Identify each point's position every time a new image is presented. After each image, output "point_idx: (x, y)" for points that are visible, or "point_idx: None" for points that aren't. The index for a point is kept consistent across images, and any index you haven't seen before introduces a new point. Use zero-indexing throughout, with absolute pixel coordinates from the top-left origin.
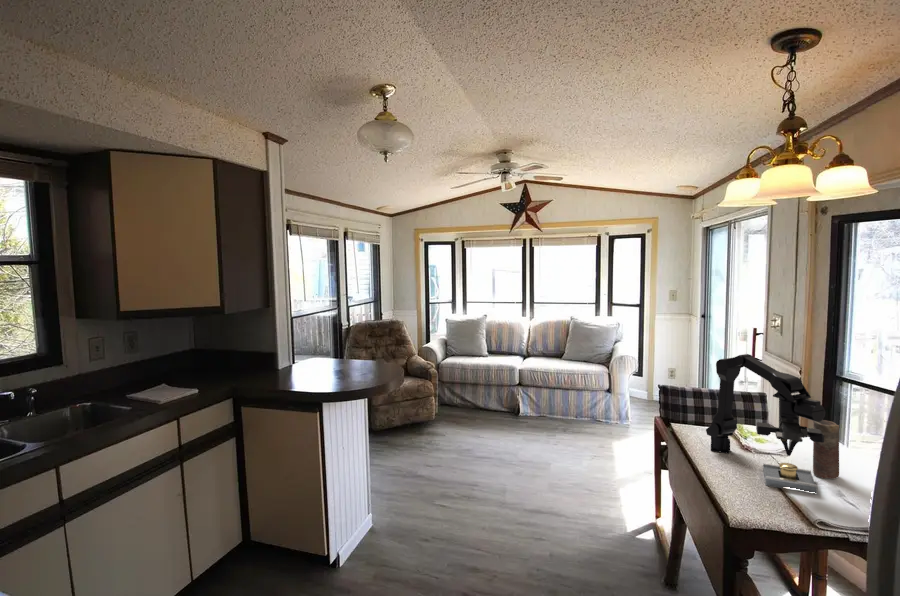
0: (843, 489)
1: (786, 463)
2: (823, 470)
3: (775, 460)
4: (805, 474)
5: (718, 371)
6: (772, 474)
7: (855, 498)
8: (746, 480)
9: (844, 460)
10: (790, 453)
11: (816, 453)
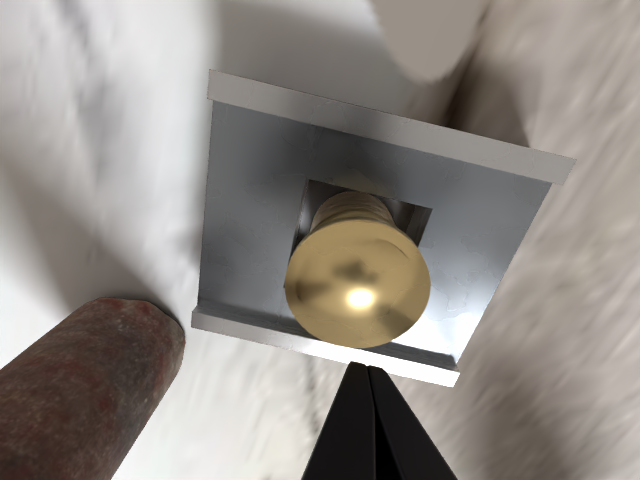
0: (74, 193)
1: (351, 336)
2: (118, 334)
3: None
4: (235, 281)
5: None
6: (463, 247)
7: (22, 74)
8: (624, 208)
9: None
10: (349, 388)
11: (73, 465)
